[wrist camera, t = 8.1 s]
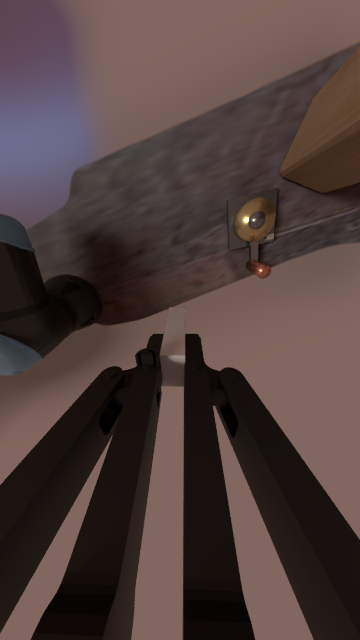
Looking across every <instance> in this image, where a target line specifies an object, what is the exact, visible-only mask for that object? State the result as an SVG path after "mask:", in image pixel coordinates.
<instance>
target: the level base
mask: <svg viewBox="0 0 360 640" xmlns="http://www.w3.org/2000/svg"><path fill="white" fill-rule="evenodd" d="M277 193H278V188H275V189H271V190H267V191H263V192H258V193H254V194H250V195H246V196H241V197H237V198H233V199H229V200H227V222H228V250H232V249H237V248H242V247H248V246H249V241H244V240H242V239H240V238H239V237H238V236H237V234H236V232H235V229H234V221H235V217H236V214H237V212H238V211H239V209H240V208H241V207H242V206H243V205H244V204H245V203H247V202H249V201H251V200H253V199H255V198H266V199H268V200H269V201H271V202H272V204H273V205H274V207H275V212H276V204H277ZM274 227H275V222H274V225H273V227H272V229H271V230H270V232H269V233H268V234H267V235H266V236H265V237H264V238H262V239H260V240H258V244H264V243H269V242H273V239H274Z"/></svg>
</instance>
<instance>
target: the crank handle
mask: <svg viewBox="0 0 360 640" xmlns="http://www.w3.org/2000/svg"><path fill="white" fill-rule="evenodd" d="M275 218H276V212H275V207H274V205H273V204H272V202H271V201H269V200H268V199H266V198H255V199H253V200H251V201H249V202H247V203H245V204H244V205H243V206H242V207H241V208H240V209H239V211H238V212H237V214H236V217H235V221H234V229H235V232H236V234H237V236H238V237H239V238H240V239H242V240H244V241H249V261H248V262H247V264H246V268H247V269H248V270H249V271H251V272H252V273H254V274H255V275H257V276H258V277H260V278H266V277H268V276H269V275H270V273H271V268H270V267H269V266H268V265H265V264H263V263H261V262H259V261H258V240H260V239H262V238H264V237H265V236H266V235H267V234H268V233H269V232H270V230H271V229H272V227H273V225H274V222H275Z"/></svg>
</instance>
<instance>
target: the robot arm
mask: <svg viewBox="0 0 360 640" xmlns="http://www.w3.org/2000/svg"><path fill="white" fill-rule="evenodd" d="M34 252H35V250H34V248H32V245H31V243H30V240H29V238H28V235H27V232H26V230H25V228H24V226H23V225H22V224H21V223H20V222H19V221H18V220H16V219H14V218H12V217H10V216H7V215H3V214H0V375H7V376H8V375H17V374H20V373H23V372H24V371H26V370H27V369H29V368H30V367H31V366H33V365H34V364H35V363H37V362H39V361H41V359H42V358H44V357H45V356H46V355H47V354H48V353H49V352H51V351H52V350H53V349H54V348H55V347H56V346H57V345H59V344H60V343H61V342H62V341H63V340H64V339H65V338H66V337H68V336H69V335H70V334H71V333H72V332H75V331H77V330H80V329H83V328H86V327H89V326H90V325H92V324H93V323H94V322H95V321H97V320H98V318H99V317H100V315H101V311H102V306H101V301H100V299H99V297H98V295H97V293H96V292H95V290H94V289H93V288H92V287H91V286H90V285H89V284H88V283H86V282H85V281H83V280H82V279H80V278H78V277H75V276H72V275H59V276H56V277H53V278H50V279H49V280H47V281H46V282H45V283H43V280H42V277H41V273H40V270H39V267H38V263H37V260H36V257H35V253H34ZM135 358H136V363H137V366H136V367H135V368H132V369H129V370H124V371H123V370H122V369H121V368H120V367H116V366H113V367H109V368H107V369H105V370H104V371H102V372H101V373H100V374H99V375H98V377H97V378H96V379H95V380H94V381H93V382H92V383H91V384H90V385H89V387H88V388H87V389H86V390H85V391H84V392H83V393H82V394H81V396H80V397H79V398H78V399H77V400H76V402H74V403H73V405H72V406H71V407H70V408H69V409H68V410H67V411H66V412H65V413H64V415H63V416H62V417H61V418H60V419H59V420H58V421H57V422H56V424H55V425H54V426H53V427H52V428H51V429H50V430H49V431H48V432H47V433H46V435H45V436H44V437H43V438H42V439H41V440H40V441H39V443H38V444H37V445H36V446H35V447H34V448H33V449H32V450H31V451H30V453H29V454H28V455H27V456H26V457H25V458H24V459H23V460H22V462H21V463H20V464H19V465H18V466H17V467H16V468H15V469H14V470H13V472H12V473H11V474H10V475H9V476H8V477H7V478H6V479H5V480H4V482H3V483H2V484H1V485H0V632H1V631H2V629H3V627H4V626H5V624H6V622H7V620H8V619H9V617H10V615H11V613H12V611H13V610H14V608H15V606H16V604H17V603H18V601H19V599H20V597H21V596H22V594H23V592H24V590H25V588H26V587H27V585H28V583H29V581H30V579H31V578H32V576H33V574H34V573H35V571H36V569H37V567H38V566H39V564H40V562H41V560H42V558H43V557H44V555H45V553H46V551H47V550H48V548H49V546H50V544H51V543H52V541H53V539H54V537H55V536H56V533H57V532H58V530H59V528H60V527H61V525H62V523H63V521H64V520H65V518H66V516H67V514H68V512H69V511H70V509H71V507H72V506H73V504H74V502H75V500H76V498H77V497H78V495H79V493H80V491H81V490H82V488H83V486H84V484H85V483H86V481H87V479H88V477H89V476H90V474H91V472H92V470H93V468H94V467H95V465H96V463H97V461H98V460H99V458H100V456H101V454H102V453H103V451H104V449H105V447H106V445H107V444H108V442H109V440H110V438H111V436H112V435H113V437H112V439H111V442H110V445H109V448H108V451H107V454H106V457H105V460H104V463H103V465H102V468H101V471H100V474H99V477H98V480H97V483H96V486H95V489H94V491H93V494H92V497H91V500H90V503H89V506H88V509H87V511H86V515H85V517H84V520H83V523H82V526H81V529H80V532H79V534H78V537H77V540H76V544H75V546H74V549H73V552H72V555H71V558H70V561H69V563H68V566H67V569H66V572H65V575H64V577H63V580H62V582H61V585H60V587H59V589H58V591H57V593H56V594H55V596H54V598H53V599H52V601H51V602H50V604H49V605H48V607H47V609H46V610H45V611H44V613H43V615H42V617H41V619H40V621H39V623H38V625H37V628H36V629H35V632H34V633H33V636H32V638H31V640H131V635H132V627H133V617H134V601H135V586H136V578H137V571H138V564H139V556H140V549H141V541H142V533H143V527H144V519H145V512H146V505H147V497H148V490H149V483H150V475H151V468H152V460H153V453H154V446H155V438H156V431H157V424H158V417H159V409H160V402H161V395H162V392H161V386H184V502H183V503H184V504H183V507H184V509H183V640H255V637H254V633H253V628H252V624H251V621H250V617H249V614H248V611H247V607H246V604H245V600H244V596H243V591H242V585H241V580H240V574H239V567H238V561H237V555H236V548H235V542H234V537H233V530H232V523H231V517H230V511H229V505H228V499H227V493H226V486H225V480H224V474H223V467H222V461H221V454H220V448H219V442H218V436H217V429H216V424H215V417H214V411H213V405H214V406H216V409H217V412H218V414H219V416H220V419H221V421H222V423H223V426H224V428H225V431H226V433H227V435H228V438H229V440H230V442H231V445H232V447H233V450H234V452H235V454H236V456H237V459H238V461H239V464H240V466H241V468H242V471H243V473H244V475H245V478H246V480H247V483H248V485H249V487H250V490H251V492H252V495H253V497H254V499H255V502H256V504H257V506H258V509H259V511H260V513H261V516H262V518H263V521H264V523H265V525H266V528H267V530H268V532H269V535H270V537H271V539H272V542H273V544H274V546H275V549H276V551H277V554H278V556H279V558H280V561H281V563H282V565H283V567H284V570H285V572H286V575H287V577H288V580H289V582H290V584H291V587H292V589H293V591H294V594H295V596H296V599H297V601H298V603H299V605H300V608H301V610H302V613H303V615H304V617H305V620H306V622H307V624H308V627H309V629H310V632H311V634H312V636H313V639H314V640H360V539H359V538H358V537H357V535H356V534H355V532H354V531H353V530H352V528H351V527H350V525H349V524H348V523H347V521H346V520H345V518H344V517H343V515H342V514H341V513H340V511H339V510H338V508H337V507H336V506H335V504H334V503H333V502H332V500H331V499H330V497H329V496H328V494H327V493H326V492H325V490H324V489H323V487H322V486H321V484H320V483H319V482H318V480H317V479H316V477H315V476H314V475H313V473H312V472H311V470H310V469H309V468H308V466H307V465H306V463H305V462H304V460H303V459H302V458H301V456H300V455H299V453H298V452H297V451H296V449H295V448H294V446H293V445H292V444H291V442H290V441H289V439H288V438H287V436H286V435H285V434H284V432H283V431H282V429H281V428H280V427H279V425H278V424H277V422H276V421H275V420H274V418H273V417H272V415H271V414H270V412H269V411H268V410H267V409H266V407H265V405H264V404H263V403H262V401H261V400H260V398H259V397H258V396H257V394H256V393H255V391H254V390H253V389H252V387H251V386H250V384H249V383H248V381H247V380H246V379H245V377H244V376H243V374H241V372H240V371H238V370H236V369H234V368H224V369H222V370H221V371H217V370H214V369H211V368H209V367H208V366H207V365H206V364H205V362H204V358H203V351H202V345H201V338H200V337H199V335H198V334H185V308H169V311H168V316H167V321H166V326H165V331H164V334H153V335H152V336H151V337H150V338H149V341H148V344H147V348H145V349H142V350H140V351H139V352H137V353H136V355H135ZM113 433H114V434H113Z"/></svg>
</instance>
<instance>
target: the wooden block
mask: <svg viewBox="0 0 360 640" xmlns="http://www.w3.org/2000/svg"><path fill="white" fill-rule="evenodd" d="M279 174H280V175H281V176H282V177H284V178H287V179H289V180H291V181H294V182H296V183H299V184H301V185H303V186H306V187H308V188H311V189H313V190H315V191H318V192H320V193H326V192H329V191H333V190H336V189H340V188H343V187H346V186H350V185H353V184H356V183H360V47H359V48H358V49H357V50H356V51H355V52H354V53H353V54H352V56H351V57H350V58H349V59H348V60H347V61H346V62H345V63H344V64H343V66H342V67H341V68H340V69H339V70H338V71H337V72H336V73H335V74H334V76H333V77H332V78H331V79H330V80H329V81H328V82H327V83H326V84H325V86H324V87H323V88H322V89H321V90H320V91H319V92H318V93H317V95H316V96H315V97H314V98H313V100H312V103H311V105H310V107H309V109H308V111H307V113H306V115H305V117H304V120H303V122H302V124H301V126H300V128H299V130H298V132H297V134H296V136H295V139H294V141H293V143H292V145H291V147H290V149H289V151H288V153H287V155H286V158H285V160H284V162H283V164H282V166H281V169H280V173H279Z"/></svg>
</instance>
